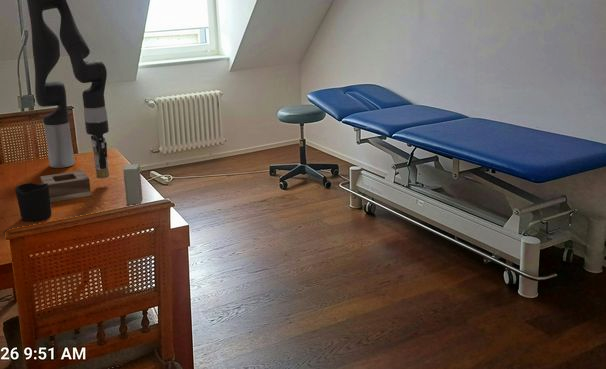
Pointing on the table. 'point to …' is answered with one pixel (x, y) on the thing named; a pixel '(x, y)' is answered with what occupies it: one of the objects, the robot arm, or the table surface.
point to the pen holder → (33, 201)
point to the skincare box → (132, 184)
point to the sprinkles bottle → (100, 172)
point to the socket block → (67, 185)
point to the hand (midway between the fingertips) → (101, 166)
